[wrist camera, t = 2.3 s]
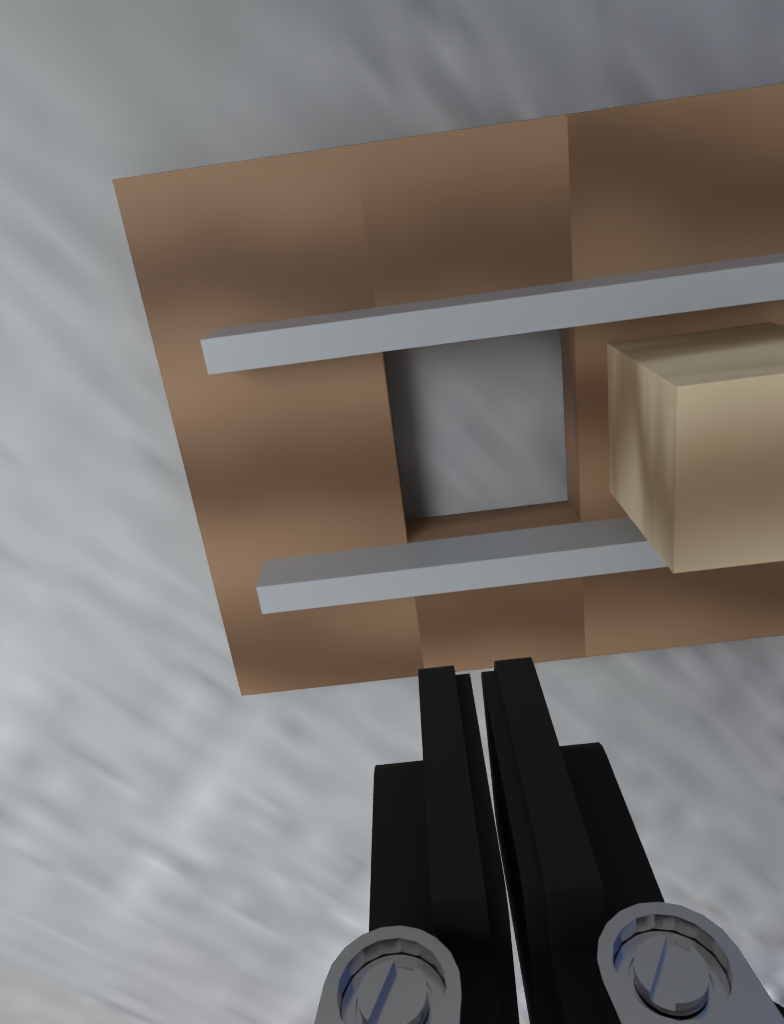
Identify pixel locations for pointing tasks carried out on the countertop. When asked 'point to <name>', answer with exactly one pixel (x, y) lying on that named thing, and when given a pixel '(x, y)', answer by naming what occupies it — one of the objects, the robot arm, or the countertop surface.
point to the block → (701, 443)
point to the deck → (363, 379)
